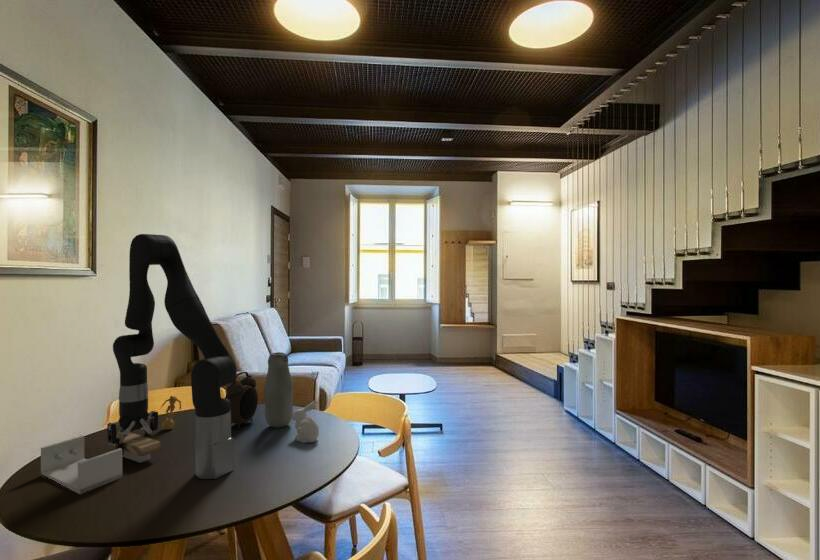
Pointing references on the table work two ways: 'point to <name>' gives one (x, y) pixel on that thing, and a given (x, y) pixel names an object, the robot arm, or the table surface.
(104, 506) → the table surface
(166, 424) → the figurine
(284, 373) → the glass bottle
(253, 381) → the alarm clock
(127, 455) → the block
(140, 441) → the shelf board
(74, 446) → the shelf frame
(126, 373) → the robot arm
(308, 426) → the rabbit
